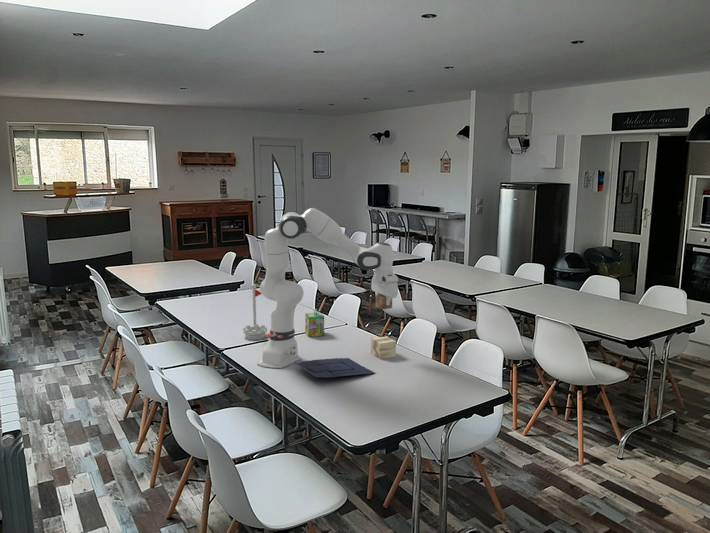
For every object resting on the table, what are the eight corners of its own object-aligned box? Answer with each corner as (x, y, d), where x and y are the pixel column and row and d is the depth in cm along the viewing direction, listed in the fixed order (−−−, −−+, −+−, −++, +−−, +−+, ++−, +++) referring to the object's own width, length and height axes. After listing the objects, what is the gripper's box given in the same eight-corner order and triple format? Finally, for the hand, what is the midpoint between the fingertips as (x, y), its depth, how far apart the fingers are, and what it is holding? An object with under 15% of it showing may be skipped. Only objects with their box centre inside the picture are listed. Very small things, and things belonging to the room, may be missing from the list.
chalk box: (305, 333, 301) (304, 307, 299) (320, 331, 304) (320, 306, 302) (308, 337, 293) (308, 311, 290) (324, 336, 295) (324, 310, 293)
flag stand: (239, 338, 291) (237, 285, 286) (250, 332, 303) (248, 280, 298) (260, 341, 287) (258, 286, 282) (271, 334, 299) (269, 282, 294)
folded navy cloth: (292, 367, 244) (293, 360, 243) (347, 363, 260) (348, 356, 259) (317, 385, 223) (318, 376, 223) (375, 379, 239) (376, 371, 239)
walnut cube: (392, 308, 259) (392, 296, 258) (381, 309, 256) (381, 297, 255) (386, 305, 264) (386, 293, 263) (375, 306, 261) (375, 294, 260)
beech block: (395, 356, 262) (395, 341, 261) (379, 359, 258) (379, 343, 257) (386, 351, 270) (386, 336, 269) (371, 353, 266) (371, 338, 265)
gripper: (368, 272, 265) (368, 299, 268) (388, 279, 247) (388, 308, 249) (379, 271, 268) (379, 298, 270) (400, 278, 250) (399, 307, 252)
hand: (383, 303), depth 260 cm, fingers closed on walnut cube, 6 cm apart
